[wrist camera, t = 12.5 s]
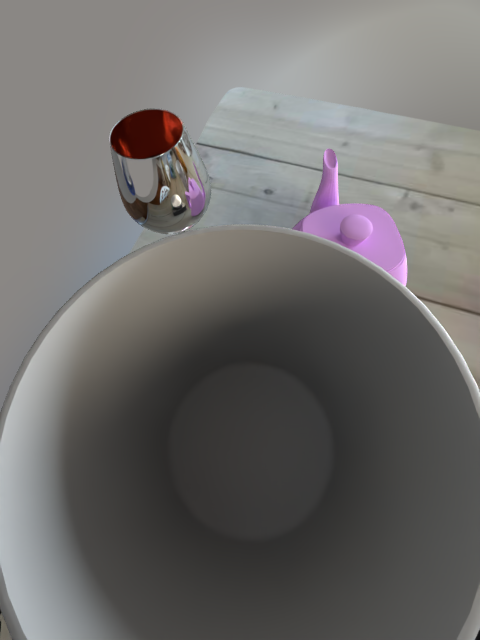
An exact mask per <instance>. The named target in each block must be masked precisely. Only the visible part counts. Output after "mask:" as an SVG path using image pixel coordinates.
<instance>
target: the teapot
mask: <svg viewBox="0 0 480 640" xmlns="http://www.w3.org/2000/svg"><path fill="white" fill-rule="evenodd" d="M293 230H297V231H301V232H305V233H310V234H313V235H316V236H318V237H321V238H324V239H327V240H330V241H333V242H335V243H337V244H339V245H342V246H344V247H346V248H348V249H350V250H352V251H354V252H356V253H358V254H360V255H362V256H363V257H365V258H366V259H368V260H370V261H371V262H373V263H375V264H376V265H378V266H379V267H381V268H382V269H384V270H385V271H386V272H388V273H389V274H390V275H392V276H393V277H394V278H395V279H397V280H398V281H399V282H401V283H402V284H403V285H404V286H405V287H406V282H407V259H406V254H405V248H404V245H403V241H402V239H401V236H400V233H399V231H398V229H397V227H396V225H395V223H394V221H393V219H392V218H391V216H390V215H389V214H388V213H387V212H386V211H385V210H383V209H382V208H380V207H377V206H374V205H369V204H340V205H339V197H338V163H337V158H336V155H335V153H334V151H333V150H332V149H327V150H326V151H325V153H324V157H323V174H322V179H321V183H320V186H319V189H318V191H317V194H316V196H315V198H314V201H313V203H312V207H311V210H310V214H309V215H307V216H306V217H305V218H303V219H302V220H301V221H300V222H299V223H298V224H297V225H296V226H295V227H293Z"/></svg>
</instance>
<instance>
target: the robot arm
mask: <svg viewBox="0 0 480 640" xmlns="http://www.w3.org/2000/svg"><path fill="white" fill-rule="evenodd" d="M0 614H1V609H0ZM0 631H1V622H0ZM475 640H480V630H479V632H478V634H477V636H476V638H475Z"/></svg>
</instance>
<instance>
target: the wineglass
mask: <svg viewBox="0 0 480 640" xmlns="http://www.w3.org/2000/svg"><path fill="white" fill-rule="evenodd" d="M109 142H110V148H111V154H112V159H113V165H114V170H115V175H116V180H117V184H118V188H119V192H120V196H121V199H122V202H123V204H124V206H125V208H126V210H127V212H128V213H129V215H130V216H131V217H132V218H133V219H134V220H135V221H136V222H137V223H138V224H140V225H141V226H142V227H144V228H146V229H148V230H150V231H153V232H156V233H161V234H176V233H178V234H179V233H183V232H185V231H186V230H188V229H190V228H191V227H193V226H194V225H195V224H196V223H198V222H199V221H200V219H201V218H202V217H203V215H204V214H205V212H206V210H207V208H208V206H209V203H210V198H211V183H210V178H209V175H208V172H207V169H206V167H205V165H204V163H203V161H202V158H201V156H200V154H199V152H198V150H197V148H196V147H195V145H194V143H193V141H192V139H191V137H190V135H189V134H188V132H187V130H186V128H185V126H184V124H183V122H182V121H181V119H180V118H179V117H178V116H177V115H176V114H174V113H172V112H170V111H168V110H164V109H144V110H140V111H136V112H133V113H131V114H129V115H127V116H126V117H124V118H122V119H121V120H120V121H119V122H117V123H116V125H115V126H114V127H113V129H112V130H111V133H110V136H109Z"/></svg>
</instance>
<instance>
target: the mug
mask: <svg viewBox="0 0 480 640" xmlns="http://www.w3.org/2000/svg"><path fill="white" fill-rule="evenodd" d="M0 609H1V612H2V615H3V617H4V620H5V622H6V625H7V627H8V630H9V633H10V635H11V638H12V640H475V638H476V636H477V634H478V632H479V630H480V391H479V388H478V386H477V384H476V382H475V380H474V378H473V376H472V374H471V372H470V370H469V368H468V366H467V364H466V362H465V360H464V358H463V356H462V355H461V353H460V352H459V350H458V349H457V347H456V346H455V344H454V343H453V341H452V339H451V338H450V336H449V335H448V333H447V332H446V330H445V329H444V328H443V326H442V325H441V324H440V323H439V322H438V320H437V319H436V318H435V317H434V316H433V314H432V313H431V312H430V311H429V310H428V308H427V307H426V306H425V305H424V304H423V303H422V302H421V301H420V300H419V299H418V298H417V297H416V296H415V295H414V294H413V293H412V292H411V291H410V290H409V289H407V288H406V287H405V286H404V285H403V284H402V283H401V282H399V281H398V280H397V279H395V278H394V277H393V276H392V275H390V274H389V273H388V272H386V271H385V270H384V269H382V268H381V267H379V266H378V265H376V264H375V263H373V262H371V261H370V260H368V259H366V258H365V257H363V256H362V255H360V254H358V253H356V252H354V251H352V250H350V249H348V248H346V247H344V246H342V245H339V244H337V243H335V242H333V241H330V240H327V239H324V238H321V237H318V236H316V235H313V234H310V233H305V232H301V231H297V230H293V229H288V228H283V227H275V226H267V225H249V224H233V225H221V226H211V227H206V228H201V229H195V230H190V231H186V232H183V233H179V234H176V235H173V236H169V237H166V238H163V239H161V240H158V241H156V242H153V243H151V244H148V245H146V246H144V247H141V248H140V249H138V250H136V251H134V252H132V253H130V254H128V255H126V256H125V257H123V258H121V259H119V260H118V261H116V262H115V263H113V264H112V265H111V266H109V267H107V268H106V269H104V270H103V271H101V272H100V273H98V274H97V275H96V276H95V277H94V278H92V279H91V280H90V281H89V282H88V283H86V284H85V285H84V286H83V287H82V288H80V289H79V290H78V291H77V292H76V293H75V294H74V295H73V296H72V297H71V298H70V299H69V300H68V301H67V302H66V303H65V304H64V305H63V306H62V307H61V308H60V309H59V310H58V312H57V313H56V314H55V315H54V317H53V318H52V319H51V320H50V322H49V323H48V324H47V325H46V327H45V328H44V329H43V330H42V332H41V333H40V335H39V336H38V337H37V339H36V341H35V342H34V344H33V345H32V347H31V349H30V350H29V352H28V353H27V355H26V356H25V358H24V360H23V362H22V364H21V366H20V368H19V370H18V372H17V374H16V376H15V378H14V380H13V382H12V384H11V386H10V388H9V391H8V394H7V396H6V399H5V401H4V404H3V407H2V410H1V412H0Z"/></svg>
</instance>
